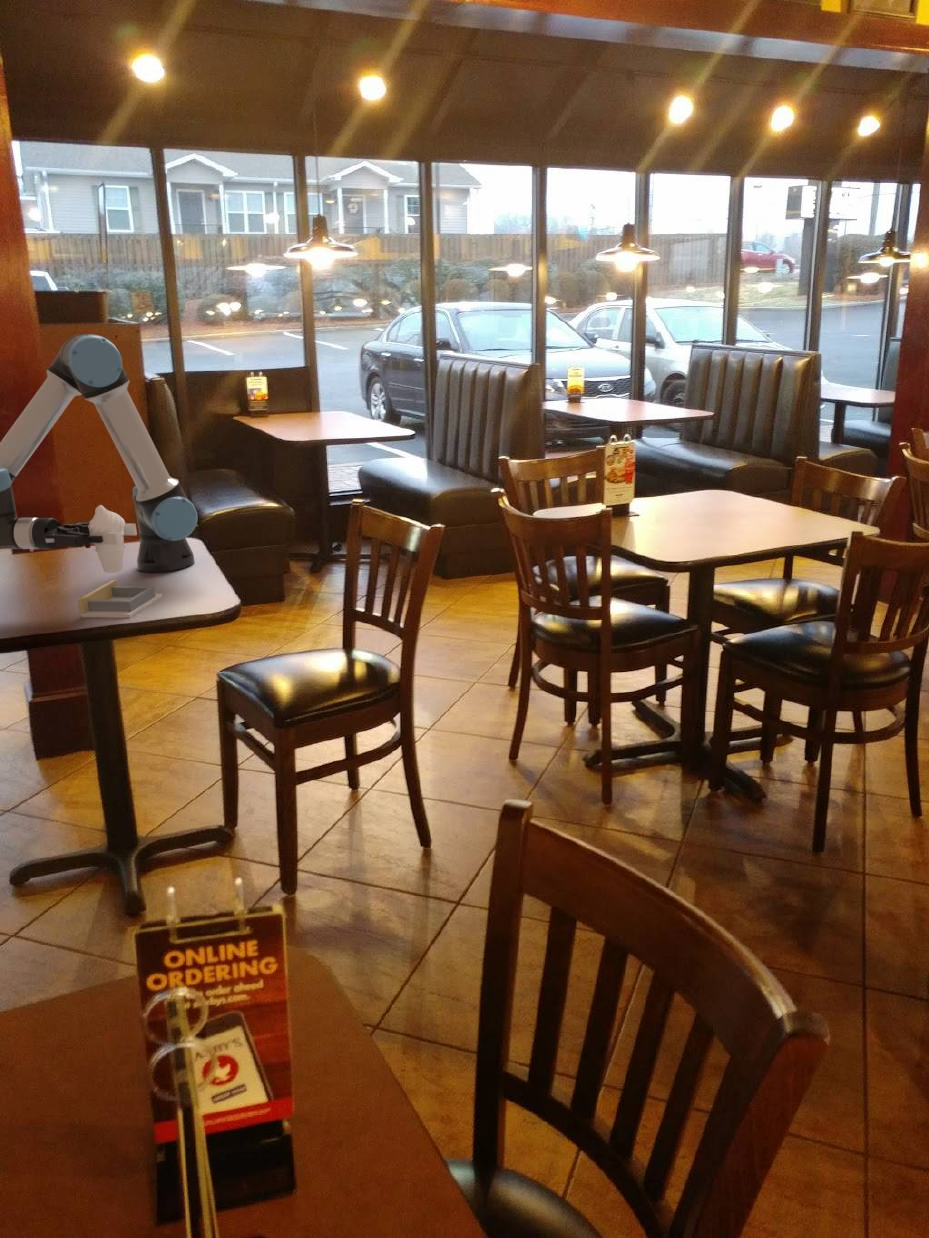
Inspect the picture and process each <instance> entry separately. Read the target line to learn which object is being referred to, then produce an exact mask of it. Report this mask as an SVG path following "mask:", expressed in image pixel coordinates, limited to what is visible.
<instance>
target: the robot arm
mask: <svg viewBox="0 0 929 1238" xmlns="http://www.w3.org/2000/svg"><path fill="white" fill-rule="evenodd" d="M46 375H47V377H46V379H45V380H44V381H43V383H42V384H41V386H40V387H39V389H38V390H36V391H37V392H36V393H35V394H34V395H33V397H32V399H31V400H30V401H29V402H28V404H27V405H26V407H24V410H23V411H22V412H21V413H20V415H19V416H18V418H17V419H16V420H15V422H14V423H13V424H12V425H11V427H10V429H9V430H8V431H7V433H6V434H5V436H3V438H2V439H1V440H0V551H1V550H20V549H21V550H28V549H29V551H30V552H34V551H35V550H55V549H57V548H59V547H60V546H61V547H71V548H72V547H73V548H74V547H75V548H82V547H84V546H85V549H90V548H91V547H92V546H91V545H94V546H95V545H117V544H119V543H118V537H117V533H113V532H91V533H90V532H89V528H88V525H89V522H90V521H88V522H80V521H76V522H73V524H71V523H63V524H62V525H61V523H60V522H59V521H58V520H57V518H55V517H18V515H17V509H16V504H15V497H14V491H13V487H12V484H13V482H14V480H15V479H16V478H17V476H18V475H19V473H20V472H21V471H22V470H23V468H24V467H25V465H26V464H27V462H28V461H29V460H30V459H31V457H32V455H33V454H34V453H35V451H36V450H37V449H38V448H39V446H40V444H42V442H43V440H44V439H45V438H46V436H47V435H48V434H49V432H50V431H51V429H52V428H53V427H54V425H55V424H56V422H57V421H58V420H59V418H60V417H61V415H63V413H64V412H65V410H66V409H67V407H68V406H69V404H70V403H71V402H72V400H73V399H74V398H75V397H76V396H82V397H83V399H84V400H85V401H88V402H91V403H93V404H94V406H95V409H96V410H97V412H98V414H99V416H100V419H101V420H102V421H103V422H102V423H104V425H105V428H106V430H107V431H108V434H109V435H110V438H111V439H112V442H113V443H114V446H115V447H116V449H117V451H118V453H119V455H120V458H121V460H122V461H123V463H124V464H125V466H126V469H127V471H128V473H129V475H130V476H131V478H132V481H133V483H134V485H135V486H134V487H133V488H132V500H133V503H134V504H133V505H134V509H135V515H136V516H135V517H136V521H137V524H136V523H125V525H124V529H123V531H124V535H123V536H137V535H138V533H139V548H138V553H137V558H136V563H137V569H138V571H141V572H142V573H143V572H144V573H164V572H165V573H167V572H172V571H178V570H177V569H179V570H182V569H185V568H184V567H186V568H188V567H191V566H192V565H193V564H195V555H194V552H193V551H192V548H191V546H190V545H189V542H188V540H187V538H188V537H189V536H190V535H191V534H192V533H193V532H194V530H195V528H196V526H197V524H198V512H197V509H196V506H195V505H194V503H193V502H192V501H190V499H188V497H187V495H186V493H185V491H184V489H183V486H182V485H181V483H180V481H179V479H177V478H175V477H174V478H173V477H171V476H170V474H169V472H168V470H167V468H166V466H165V464H164V462H163V460H162V458H161V456H160V454H159V451H158V449H157V448H156V445H155V443H154V441H153V440H152V437H151V436H150V434H149V431H148V430H147V427H146V425H145V423H144V422H143V418H142V417H141V415H140V413H139V411H138V409H137V407H136V405H135V404H134V401H133V399H132V398H131V395H130V393H129V391H128V388H129V384H130V379H129V377H128V374H127V372H126V371H125V368H124V366H123V358H122V356H121V353H120V351H119V350H118V348H117V347H116V346H115V344H114V343H113V342H112V341H111V340H109V339H108V338H106V337H104V336H101V335H98V334H90V333H89V334H87V333H79V334H75V335H73V336H71V337H70V338H68V339H67V340H66V341H65V342H64V343H63V345H62V346H61V347H60V350H59V351H58V353H57V355H56V356H55V358H54V359H53V361H52V362H51V364H50V366H49V367H48V368H47V369H46ZM136 525H137V526H138V527H137V526H136ZM137 528H138V532H137ZM187 566H188V567H187ZM181 568H182V569H181Z"/></svg>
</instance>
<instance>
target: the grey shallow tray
mask: <svg viewBox="0 0 929 1238" xmlns="http://www.w3.org/2000/svg"><path fill="white" fill-rule="evenodd" d="M162 597H163V594H162V593H156V590H155V586H154V585H153V586H145V585H144V586H140V585H138V586H137V585H136V586H134V585H133V586H132V585H125V586H124V585H121V586H119V585H118V580H117V579H112V580H110V581H108V582H106V583H104V584H103V585H101V586H99V587H98V588H96V589H94V590H92V591H90V592H89V593H87V594H85V595H84V596H81V597H80V598H78V599H77V604H78V610H79V615H81V618H105V619H106V618H107V619H109V618H112V619H114V618H116V619H117V618H119V619H120V618H122V619H126V618H127V619H130V618H132V617H134V616H135V615H136V614H139V613H140V612H142V611H143V610H145V609H146V608H147V607H149V606H150V605H152V604H154V603H155V602H157V601H158V600H159V599H161V598H162ZM133 615H134V616H133Z"/></svg>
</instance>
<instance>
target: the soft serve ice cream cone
mask: <svg viewBox="0 0 929 1238" xmlns="http://www.w3.org/2000/svg"><path fill="white" fill-rule="evenodd" d="M94 510H95V511H94V515H93V517H92V519H91V520H90V521H88V522H89V525H88V528H89V532H90V533H91V532H113V533H117V537H118V543H119V544H117V545H94V546H95V552H96V553H97V556H98V559H99V561H100V564H101V567H102V569H103V571H104V573H108V574H109V573H110V574H113V573H119V572H122V571H123V569H124V557H125V555H124V552H125V544H124V543H125V541H124V536H125V535H124V531H123V529H124V525H125V524H126V522H125V519H124V518H123V517H122V516H121V515H120V514H118V513H117V512H113V511H111V510H108V509H107V508H105V506H103V505H102V504H99V505H98V506H96V508H95V509H94Z"/></svg>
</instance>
